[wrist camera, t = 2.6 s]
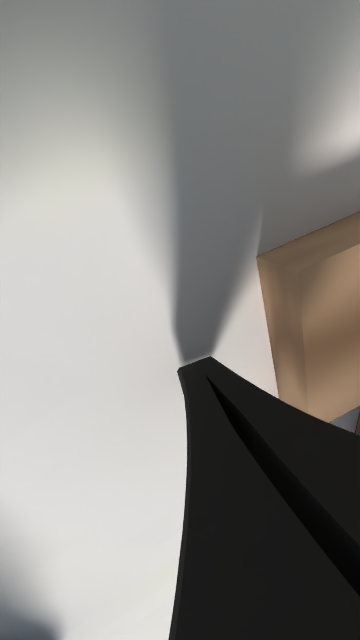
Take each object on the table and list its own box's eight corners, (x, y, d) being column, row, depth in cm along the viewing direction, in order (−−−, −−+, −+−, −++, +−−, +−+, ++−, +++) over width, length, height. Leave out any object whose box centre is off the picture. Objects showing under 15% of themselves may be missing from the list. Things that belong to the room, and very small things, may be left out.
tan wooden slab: (351, 355, 13) (399, 384, 11) (274, 394, 13) (309, 432, 11) (361, 207, 10) (437, 208, 7) (251, 255, 9) (298, 271, 7)
